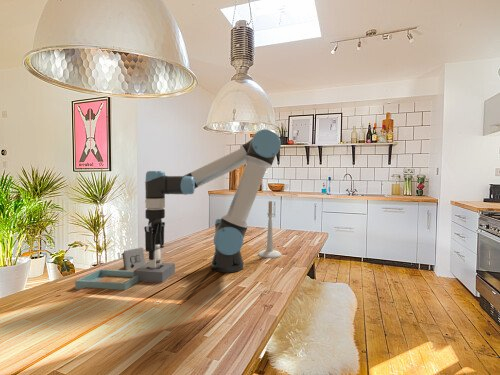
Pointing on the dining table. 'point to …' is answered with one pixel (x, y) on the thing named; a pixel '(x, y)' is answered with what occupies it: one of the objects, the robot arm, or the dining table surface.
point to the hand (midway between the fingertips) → (155, 265)
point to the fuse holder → (155, 272)
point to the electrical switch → (133, 258)
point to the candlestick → (269, 239)
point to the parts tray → (93, 282)
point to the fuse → (157, 256)
